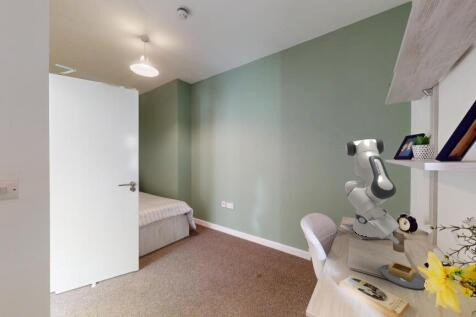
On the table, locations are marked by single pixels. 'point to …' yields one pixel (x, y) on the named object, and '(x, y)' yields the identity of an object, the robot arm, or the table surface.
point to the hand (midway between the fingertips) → (400, 241)
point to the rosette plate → (403, 276)
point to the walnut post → (399, 246)
